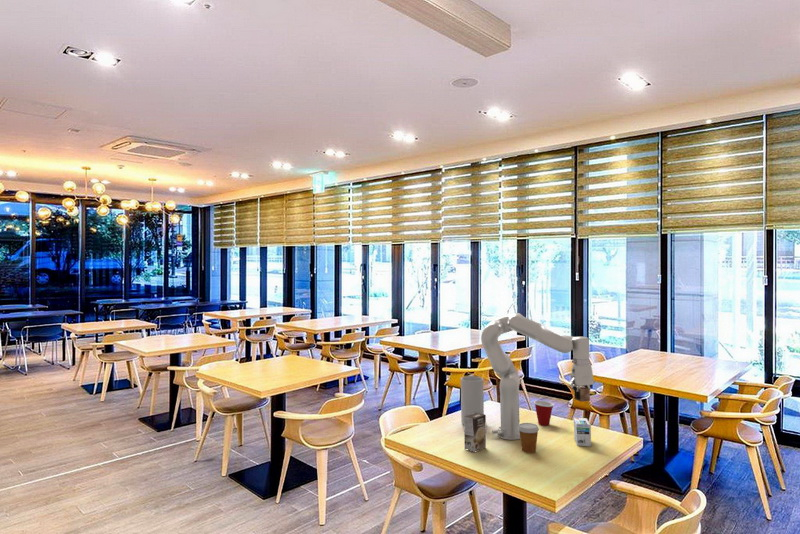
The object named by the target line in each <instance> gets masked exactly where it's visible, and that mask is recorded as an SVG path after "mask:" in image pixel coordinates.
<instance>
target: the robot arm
mask: <svg viewBox="0 0 800 534" xmlns="http://www.w3.org/2000/svg"><path fill="white" fill-rule="evenodd" d="M513 331H514V332H517V333H519V334H521V335H523V336H525V337H527V338H530V339H532V340H534V341H536V342H538V343H540V344H543V346H547V347H548V348H550V349H551V350H555V351H557V352H560V353H562V354H563V353H564V354H568V353H570V352H571V351H572V355H573V357H572V360H571V363H572V366H571V372H570V381H569V383H568V386H569V387H570V388H571V389H572V390H573V391H574V393H573V394H574V400H575V399H577V400H576V401H578V400H580V392H579V388H580V386H584V387H587V388H590V391H591V388H592V387H593V385H594V384H595V381H594V375H593V368H592V364H590V340H589V337H587V336H573V335H572V336H571V335H560V334H557V333H555V332H553V331H552V330H550V329H548V328H547V327H546V326H545V325H543V324H541V323H540V322H536V321H535V320H532V319H530V318H528V317H526V316H523V314H522V313H519V312H514V313H511V314H508V315H505V316H502V317H498V318H496V319H493V320H491V321H490V322H488V324H487V325H486V326H485V327H484V329H483V330H482V332H481V337H480V338H481V339H480V340H481V345H482V348H483V351H484V352H485V354H486V356H487V359H488V361H489V364H490V365H491V368H492V370H493V372H495V373H496V374H498V377H499V378H500V381H499V399H500V400H499V404H500V407H499V408H500V426H498V428H497V429H492V431H491V432H492V435H494V434H495V435H496V434H497V437H498V438H500V439H502V438H503V440H509V441H516V440H521V439H520V432H519V429H518V427H519V424H520V383H521V378H520V375H519V374H518V371H517V369H516V367H515V365H514V363H513V361H512V358H511V357H510V356H509V355H508V354H507V353H505V352H504V350H503V348H502V346H501V344H500V343H499V337H500V336H501V335H503V334H506V333H510V332H513ZM576 387H577V388H576Z"/></svg>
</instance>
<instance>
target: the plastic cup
mask: <svg viewBox="0 0 800 534" xmlns="http://www.w3.org/2000/svg"><path fill="white" fill-rule="evenodd" d="M533 403H534V406H535V407H534V408H535V412H536V418H537V423H538V425H540V426H543V427H545V426H546V427H547V426H550V423H551V417H552V411H553V408H554V406H555V404H554V403H553V402H550V401H547V400H546V401H545V400H535V401H533Z"/></svg>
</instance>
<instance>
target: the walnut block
mask: <svg viewBox="0 0 800 534" xmlns="http://www.w3.org/2000/svg"><path fill="white" fill-rule="evenodd" d="M576 388H577V387H576ZM590 389H591V388H587V387H584V386H580V388H579V392H580V400H577V399H575V398H574V400H575V401H578V402H581V403H582V402H588V401H591V398H590V397H591V396H590V395H591V392H590V391H591V390H590Z"/></svg>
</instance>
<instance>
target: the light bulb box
mask: <svg viewBox="0 0 800 534" xmlns="http://www.w3.org/2000/svg"><path fill="white" fill-rule="evenodd" d="M591 426H592V424H591V423H590V421H589V419H588V418H586V417H585V418H584V417H573V433H574V434H573V435H574V437H573V439H574V441H575V443H576V446H577V447H592V427H591Z"/></svg>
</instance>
